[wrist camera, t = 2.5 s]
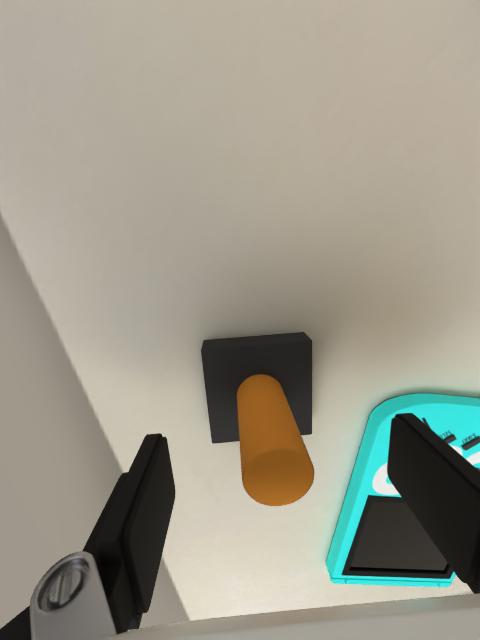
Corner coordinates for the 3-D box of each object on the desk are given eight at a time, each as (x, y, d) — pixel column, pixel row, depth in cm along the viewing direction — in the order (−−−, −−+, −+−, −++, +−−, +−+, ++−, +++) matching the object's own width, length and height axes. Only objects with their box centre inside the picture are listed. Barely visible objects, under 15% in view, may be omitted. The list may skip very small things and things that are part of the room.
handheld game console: (518, 401, 17) (542, 414, 16) (440, 571, 21) (455, 592, 20) (376, 387, 16) (390, 399, 15) (324, 566, 20) (330, 588, 19)
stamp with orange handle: (203, 340, 15) (183, 412, 8) (304, 331, 15) (366, 396, 8) (213, 427, 16) (203, 549, 10) (304, 418, 17) (357, 533, 10)
